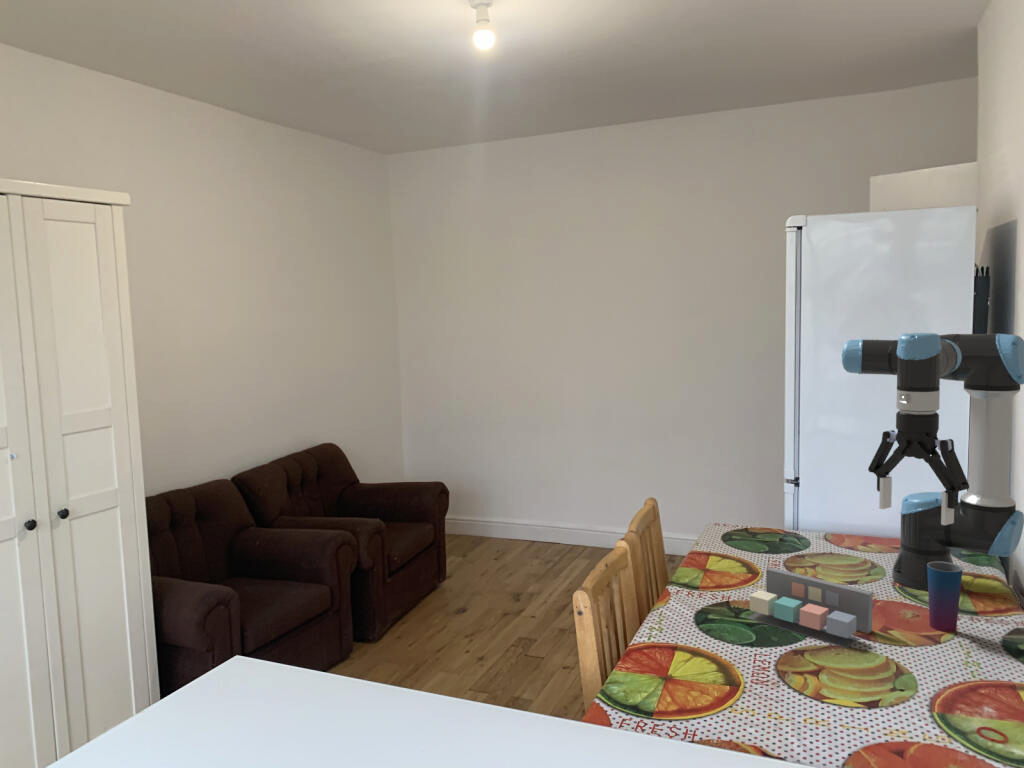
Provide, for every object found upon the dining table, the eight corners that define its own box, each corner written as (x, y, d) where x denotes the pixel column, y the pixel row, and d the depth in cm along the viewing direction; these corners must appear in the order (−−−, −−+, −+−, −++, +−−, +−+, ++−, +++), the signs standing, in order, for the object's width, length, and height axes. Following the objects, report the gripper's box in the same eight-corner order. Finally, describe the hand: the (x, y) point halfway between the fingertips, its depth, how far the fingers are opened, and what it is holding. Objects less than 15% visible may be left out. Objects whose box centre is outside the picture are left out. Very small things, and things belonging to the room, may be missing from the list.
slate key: (835, 625, 167) (835, 610, 167) (856, 631, 164) (856, 616, 163) (826, 632, 164) (826, 616, 164) (847, 638, 161) (847, 622, 160)
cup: (965, 639, 165) (967, 572, 164) (931, 637, 167) (933, 571, 165) (953, 626, 172) (955, 561, 170) (921, 624, 173) (922, 560, 172)
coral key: (808, 618, 171) (808, 603, 171) (828, 624, 168) (828, 608, 168) (799, 624, 168) (799, 609, 168) (819, 630, 165) (819, 614, 165)
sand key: (759, 604, 180) (759, 590, 180) (777, 609, 177) (777, 594, 176) (749, 610, 177) (749, 595, 177) (767, 615, 174) (767, 600, 173)
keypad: (771, 606, 186) (771, 566, 185) (872, 635, 169) (873, 591, 168) (737, 626, 175) (737, 584, 174) (842, 659, 158) (843, 613, 157)
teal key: (783, 611, 176) (783, 596, 175) (802, 616, 172) (802, 601, 172) (773, 617, 173) (774, 602, 172) (793, 622, 169) (793, 607, 169)
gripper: (851, 406, 161) (850, 504, 163) (967, 420, 138) (963, 534, 141) (875, 402, 164) (874, 499, 166) (992, 416, 142) (988, 527, 144)
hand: (915, 515), depth 153 cm, fingers open, 13 cm apart
